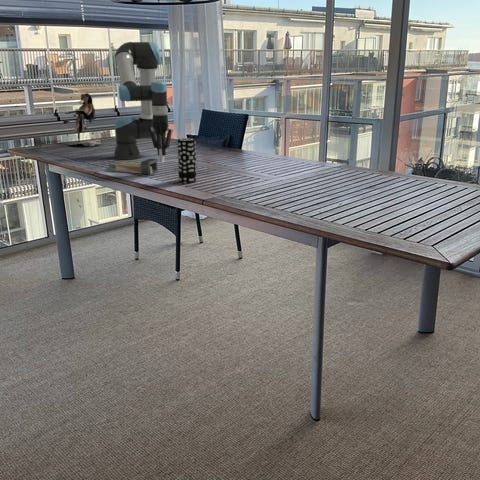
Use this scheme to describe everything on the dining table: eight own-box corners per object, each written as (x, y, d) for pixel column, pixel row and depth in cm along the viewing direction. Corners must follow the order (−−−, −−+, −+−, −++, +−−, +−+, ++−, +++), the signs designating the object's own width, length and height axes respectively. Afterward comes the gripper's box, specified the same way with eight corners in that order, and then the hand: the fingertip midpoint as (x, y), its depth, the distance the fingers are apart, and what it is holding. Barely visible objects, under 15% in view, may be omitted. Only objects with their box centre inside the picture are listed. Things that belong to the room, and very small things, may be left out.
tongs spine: (113, 169, 275) (113, 162, 273) (154, 172, 267) (153, 165, 266) (109, 170, 270) (108, 164, 269) (149, 174, 263) (149, 167, 262)
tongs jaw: (115, 168, 277) (115, 160, 275) (147, 170, 270) (147, 162, 269) (111, 169, 273) (110, 161, 272) (143, 172, 267) (143, 164, 265)
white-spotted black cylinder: (193, 183, 243) (192, 141, 237) (176, 182, 245) (175, 140, 238) (198, 180, 251) (197, 138, 244) (182, 179, 252) (180, 137, 246)
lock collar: (150, 169, 272) (150, 158, 270) (157, 170, 270) (156, 159, 268) (141, 173, 263) (141, 161, 261) (148, 173, 262) (148, 162, 260)
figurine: (73, 147, 364) (62, 96, 355) (107, 143, 366) (97, 92, 356) (65, 150, 340) (53, 96, 331) (101, 145, 341) (90, 91, 332)
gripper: (144, 114, 253) (147, 162, 261) (168, 115, 249) (170, 164, 257) (151, 113, 260) (154, 160, 268) (175, 114, 256) (177, 161, 264)
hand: (162, 161), depth 262 cm, fingers closed
